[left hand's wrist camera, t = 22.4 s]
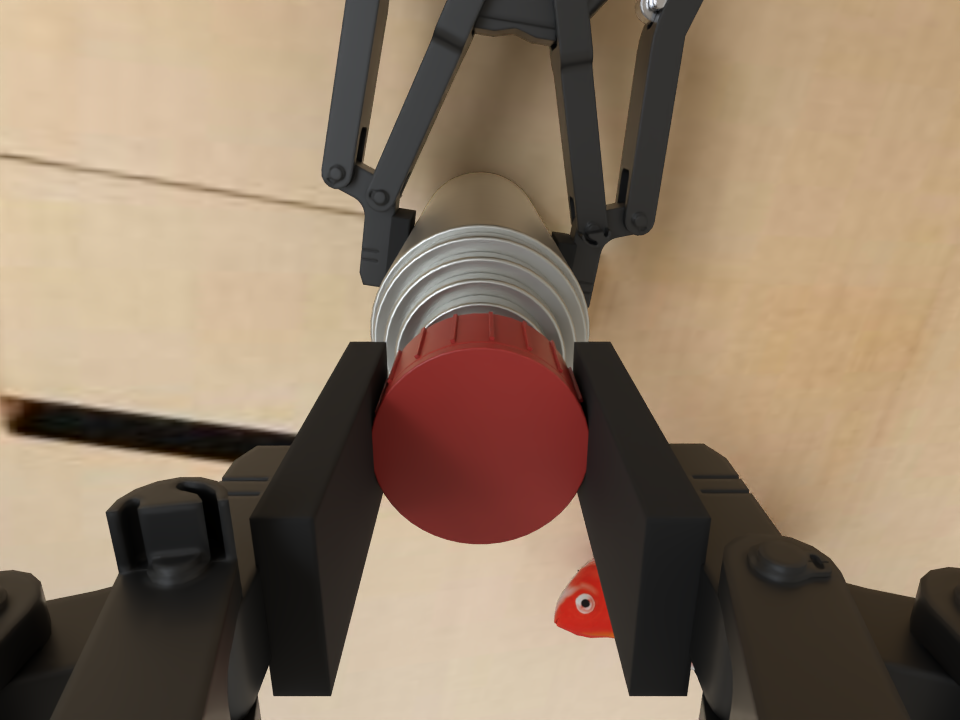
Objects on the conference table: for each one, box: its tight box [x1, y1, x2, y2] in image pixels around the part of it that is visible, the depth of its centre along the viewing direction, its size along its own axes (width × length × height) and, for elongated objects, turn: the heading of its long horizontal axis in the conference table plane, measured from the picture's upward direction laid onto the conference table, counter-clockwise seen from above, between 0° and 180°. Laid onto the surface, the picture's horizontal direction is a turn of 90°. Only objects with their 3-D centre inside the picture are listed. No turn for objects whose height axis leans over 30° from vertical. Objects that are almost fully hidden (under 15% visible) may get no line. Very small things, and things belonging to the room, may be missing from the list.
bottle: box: [371, 172, 589, 377], centre depth 24 cm, size 6×6×24 cm
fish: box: [554, 558, 696, 673], centre depth 38 cm, size 11×16×10 cm
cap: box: [372, 312, 589, 544], centre depth 13 cm, size 4×4×2 cm
